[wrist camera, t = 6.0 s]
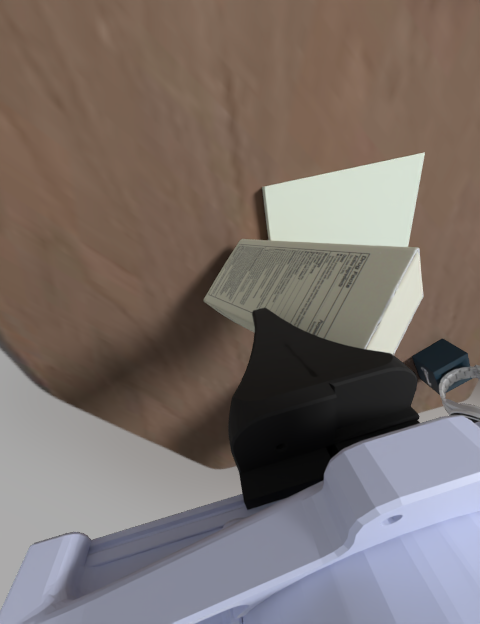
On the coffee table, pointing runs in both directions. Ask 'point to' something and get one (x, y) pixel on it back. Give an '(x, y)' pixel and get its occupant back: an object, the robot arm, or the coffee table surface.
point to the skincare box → (323, 289)
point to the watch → (447, 374)
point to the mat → (347, 205)
